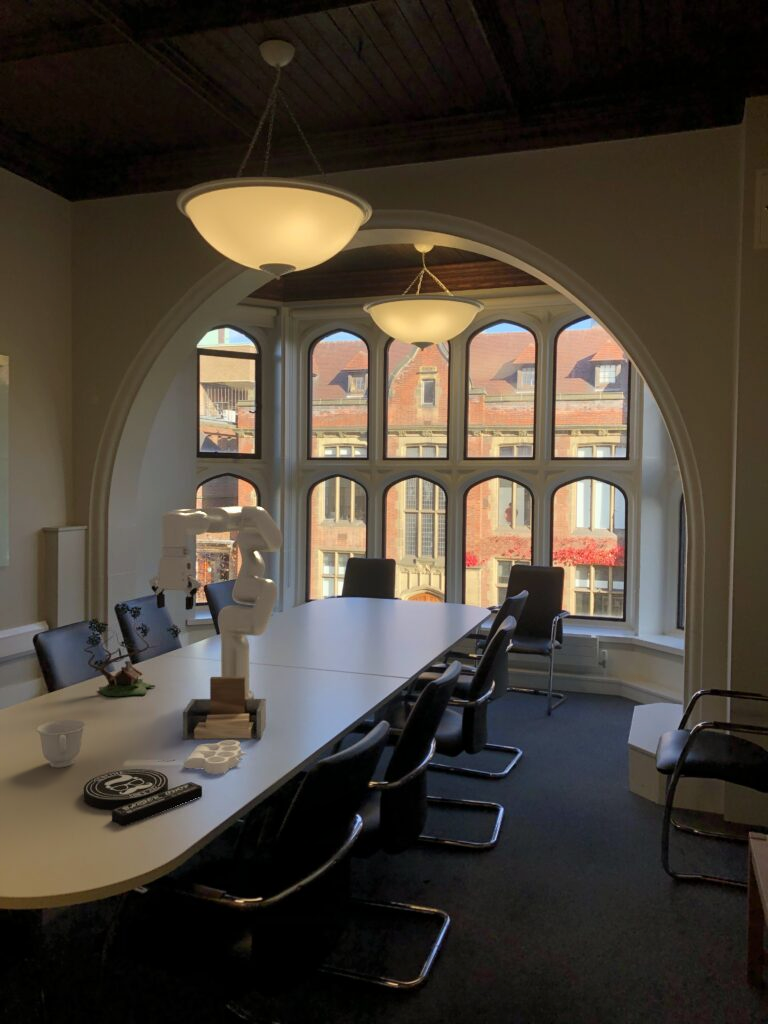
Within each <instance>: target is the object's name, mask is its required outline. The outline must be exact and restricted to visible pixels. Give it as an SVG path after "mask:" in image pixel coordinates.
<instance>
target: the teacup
mask: <svg viewBox="0 0 768 1024" xmlns="http://www.w3.org/2000/svg"><path fill="white" fill-rule="evenodd" d="M86 726H87V724H86V723H85V722H84V721H83V720H78V719H59V720H54V721H52V720H51V721H48V722H45V723H43V724H41V725H39V726H38V727H37V728H36V732H37V733H38V734H39V737H40V746H41V751H42V754H43V757H44V759H46V760H47V761H48V762H50V764H49V765H50V766H51V767H52V768H65V767H69V766H71V765H73V764H74V763H75V762H74V760H75V758H76V757H78V755H79V754H80V751H81V748H82V742H83V741H82V739H83V734H84V729H85V727H86Z"/></svg>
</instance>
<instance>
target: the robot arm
mask: <svg viewBox="0 0 768 1024" xmlns="http://www.w3.org/2000/svg"><path fill="white" fill-rule="evenodd" d="M229 532H237V533H236V543H237V546H238V549H239V550H238V551H239V553H240V556H241V565H240V568H239V571H238V573H237V576H236V579H235V582H234V586H233V588H232V592H231V597H232V599H233V602H235V603H237V604H242V605H237V604H235V605H234V604H233V605H232V604H231V605H226V606H224V607H223V608H221V609H220V611H219V613H218V616H217V625H218V630H219V635H220V677H245V699H254V697H255V693H254V691H252V690H250V643H249V641H248V638H247V636H254V637H256V636H257V637H258V636H262V635H263V634H265V632H266V630H267V629H268V626H269V623H270V621H271V618H272V615H273V611H274V610H275V609H274V608H275V605H276V601H277V599H278V586H277V584H276V583H275V581H273V580H272V579H269V578H265V577H264V575H265V572H266V571H265V570H266V564H265V561H264V559H263V557H262V555H261V552H265V553H266V552H267V553H275V552H277V551H278V550H280V549H281V547H282V546H283V540H284V538H283V534H282V531H281V530H280V528H279V526H278V524H276V523H275V520H274V519H273V518H272V516H271V515H270V513H269V512H268V511H267V510H266V509H265V508H263V507H261V506H257V505H256V506H253V505H251V506H250V505H233V506H231V505H230V506H217V507H216V506H214V507H213V506H212V507H204V508H191V509H188V508H187V509H173V510H171V511H170V512H169V511H168V512H165V513H163V514H162V515H161V557H159V563H158V568H157V569H158V570H157V575H156V576H155V577H153V578H150V579H149V580H148V583H149V586H150V587H151V590H152V591H153V592H154V595H155V596H156V605H157V607H156V608H157V609H162V608H165V606H166V604H165V603H166V602H165V601H166V600H165V599H166V597H165V596H166V595H165V593H164V592H165V591H166V590H169V591H183V592H184V593H185V595H186V596H185V610H186V611H188V610H189V611H190V610H192V609H193V607H194V605H195V604H194V602H195V601H194V596H196V594H197V593H198V592H199V591H200V590H199V589H200V588H201V585H202V582H201V581H200V580H198V579H196V578H195V577H194V572H193V565H192V559H191V557H190V556H188V555H191V552H192V550H191V549H189V546H188V535H190V536H191V535H192V536H193V535H194V536H200V535H203V534H205V533H206V534H207V533H209V534H221V533H229ZM245 605H246V606H245ZM247 605H249V606H247Z"/></svg>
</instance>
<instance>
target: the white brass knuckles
mask: <svg viewBox="0 0 768 1024" xmlns="http://www.w3.org/2000/svg"><path fill="white" fill-rule="evenodd" d="M245 755H247V753H246V752H245V751H242V748H241V742H240V741H239V740H236V739H231V740H222V741H221V740H220V741H219V742H217V743H203V744H199V745H197V746H196V747H195V749H194V750H192V753H189V756H188V757H187V758H186V760H184V761H183V766H184V768H185V769H187V768H203V769H205V770H204V772H205V771H206V772H208V773H212V774H211V775H214V774H217V775H219V774H218V773H224V772H227V771H228V772H229V770H230V769H229V768H231V767H233V768H235V766H236V765H237V764H238V765H239V764H240V763H242V760H240V759H241V756H245ZM238 765H237V766H238ZM237 766H236V767H237ZM203 769H202V770H203ZM228 769H229V770H228ZM231 769H232V768H231ZM206 772H205V773H206ZM228 772H227V773H228ZM208 773H207V774H208ZM224 774H225V773H224Z"/></svg>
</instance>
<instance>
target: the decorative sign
mask: <svg viewBox="0 0 768 1024" xmlns="http://www.w3.org/2000/svg"><path fill="white" fill-rule="evenodd" d="M201 796H202V797H203V786H202V785H200V784H197V783H194V782H192V781H191V782H190V781H188V782H186V783H184V784H181V785H177V786H175V787H172V788H169V778H168V777H167V775H165V774H164V773H162V772H160V771H157V770H152V769H151V770H150V769H144V768H140V769H138V768H135V769H134V768H133V769H130V768H129V769H122V770H115V771H111V772H107V773H104V774H100V775H98V776H95V777H94V778H91V779H90V780H89V781H87V782H86V783H85V784H84V787H83V802H84V804H86V805H87V806H88V807H91V808H93V809H97V810H101V811H111V822H112V821H113V823H114V822H115V824H116V823H117V825H118V824H119V825H118V826H120V825H121V826H120V827H126V825H127V826H130V825H132V824H134V822H135V823H137V822H139V820H140V821H143V820H145V819H147V817H148V818H150V817H153V816H155V814H156V815H158V814H161V813H163V812H162V811H164V810H166V811H168V810H167V809H169V810H171V809H170V808H172V809H174V808H176V807H175V806H177V805H180V804H182V803H185V802H188V801H190V800H193V799H195V798H198V797H201ZM202 797H201V798H202ZM198 799H199V798H198ZM193 801H194V800H193ZM190 802H191V801H190ZM188 803H189V802H188ZM185 804H186V803H185ZM182 805H183V804H182ZM180 806H181V805H180ZM173 807H174V808H173ZM177 807H178V806H177ZM160 812H161V813H160ZM164 812H165V811H164ZM152 815H153V816H152ZM144 818H145V819H144ZM136 821H137V822H136ZM131 823H132V824H131Z"/></svg>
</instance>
